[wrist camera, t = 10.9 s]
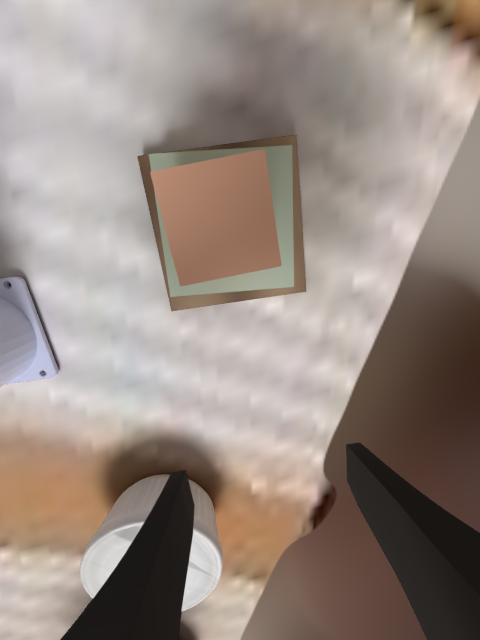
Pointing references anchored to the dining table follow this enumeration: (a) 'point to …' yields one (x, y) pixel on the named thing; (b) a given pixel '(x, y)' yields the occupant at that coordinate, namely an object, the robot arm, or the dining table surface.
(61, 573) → the dining table surface
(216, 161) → the terracotta block
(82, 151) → the dining table surface
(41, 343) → the robot arm
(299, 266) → the tower base
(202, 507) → the ramekin
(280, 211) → the tower top
